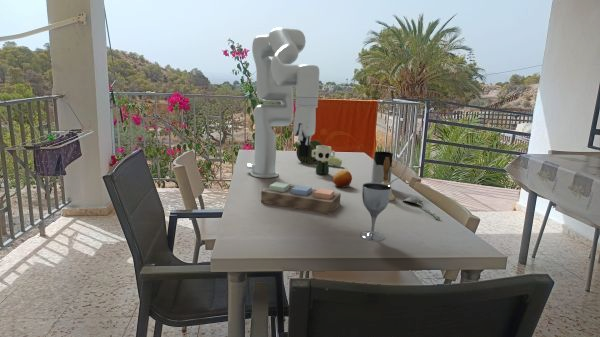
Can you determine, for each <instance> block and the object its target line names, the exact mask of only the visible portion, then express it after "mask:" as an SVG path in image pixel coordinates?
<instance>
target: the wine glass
mask: <svg viewBox="0 0 600 337" xmlns="http://www.w3.org/2000/svg"><path fill="white" fill-rule="evenodd" d="M391 191H392V185H391V186H389V185H386V184H382V183H371V182H365V183H363V184H362V190H361V192H362V193H361V196H362V203H363V205H364V207H365V208H366V210H367V211H368V213H369V215H370V217H371V229H370V230H369V231H368V230H367V231H362V232H360V233H359V237H360V238H362V239H364V240H366V241H370V242H381V241H384V240H385V238H386V237H385V235H383V234H381V233H379V232H377V231H375V226H376V225H375V224H376V220H377V218H378V217H379V215H380V214H381V213H382V212H383V211H384V210H385V209H386V208H387V207H388V205H389V203H390V201H389V200H390V195H391Z"/></svg>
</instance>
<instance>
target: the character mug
mask: <svg viewBox="0 0 600 337" xmlns="http://www.w3.org/2000/svg"><path fill="white" fill-rule="evenodd" d="M314 152H316V155H314ZM335 155H336V151H335V150H332V146H329V145H323V144H322V145H320V146H316V150H312V157H316V159H317V160H318V161H316V167H315V173H316V174H318V175H319V174H320V175H322V174H323V175H328V174H329V173H330V169H329V167H330V166H329V164H328V162H327V161H329V160H330V158H334V157H336V156H335Z"/></svg>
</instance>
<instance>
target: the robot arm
mask: <svg viewBox="0 0 600 337" xmlns="http://www.w3.org/2000/svg"><path fill="white" fill-rule="evenodd" d="M251 47H252V48H251V49H252V50H251V51H252V56H253V60H254V63H255V64H254V65H255V69H256V96H257V98H258V99H259V100H260V101H265V102H280V104H273V103H271V104H270V103H264V104H263V103H262V104H257V105H256V106H255V107H254V109H253V114H252V115H253V120H254V121H253V123H254V156H253V157H254V159H253V161H254V162H253V164H252V163H247V164H246V169H250V170H251V171H250V175H251V176H252V177H255V178H262V179H263V178H264V179H269V178H270V179H271V178H272V179H273V178H276V177H278V176H279V172H278V171H277V170H276V162H277V161H276V160H277V159H276V158H277V135H276V132H275V131H274V129H273V128H272V127H288V126H291V125H292V123H293V131H292V134H293V136H294V137H298V138H297V141H298V142H299V143H298V146H299V145H300V147H299V156H301V157H308V156H309V153H310V141H312V140H311V139H312V137H313V136H314V135H315V133H316V126H317V125H316V123H317V122H316V121H317V118H316V109H317V108H318V107H319V106H318V104H319V89H320V88H319V85H320V68H319V66H318V65H314V64H293V63H295V62H296V61H297V59H298V58H299V54H300V53H301V52H303V50H304V49H305V47H306V36H305V34H304V32H303V31H302V30H300V29H297V28H296V29H295V28H286V27H276V28H275V27H274V28H273V29H272V30H270V32H269V33H268V34H261V35H260V34H259V35H257V36H255V37H254V38H253V41H252V45H251ZM293 88H295V104H294V89H293ZM294 106H295V110H294ZM294 111H295V112H294ZM294 113H295V114H294ZM293 119H294V120H293Z"/></svg>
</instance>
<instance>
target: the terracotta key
mask: <svg viewBox="0 0 600 337" xmlns="http://www.w3.org/2000/svg"><path fill="white" fill-rule="evenodd" d="M315 190H316V191H315V192H314V197H317V198H323V199H330V200H331V199H332V198H333V197H334V192H335V190H333V189H326V188H320V187H319V188H317V189H315Z"/></svg>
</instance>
